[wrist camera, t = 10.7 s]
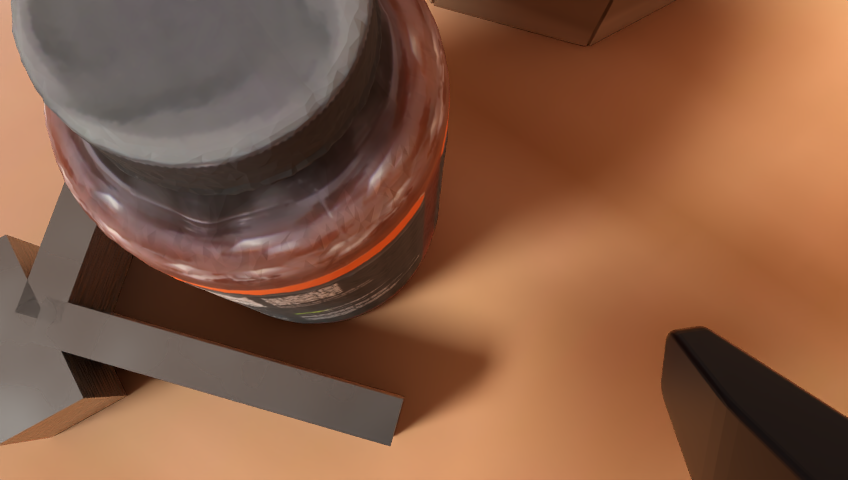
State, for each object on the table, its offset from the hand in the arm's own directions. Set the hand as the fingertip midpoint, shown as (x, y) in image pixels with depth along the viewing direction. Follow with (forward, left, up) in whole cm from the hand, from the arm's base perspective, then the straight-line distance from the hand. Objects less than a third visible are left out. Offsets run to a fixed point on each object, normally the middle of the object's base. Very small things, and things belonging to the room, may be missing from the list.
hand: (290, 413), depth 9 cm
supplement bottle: (+4, -1, -10) cm, 11 cm away
